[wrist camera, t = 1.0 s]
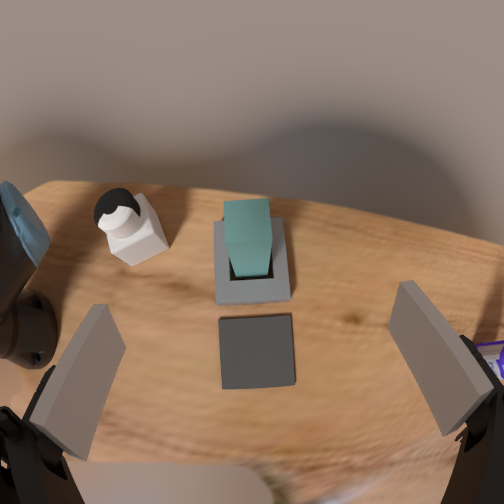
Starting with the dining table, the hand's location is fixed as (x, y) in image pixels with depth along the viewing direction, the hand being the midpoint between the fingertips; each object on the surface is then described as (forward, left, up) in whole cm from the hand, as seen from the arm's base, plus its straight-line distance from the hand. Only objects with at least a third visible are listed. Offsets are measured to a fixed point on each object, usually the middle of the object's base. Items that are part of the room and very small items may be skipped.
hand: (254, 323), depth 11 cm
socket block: (0, +10, -27) cm, 29 cm away
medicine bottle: (-17, +15, -27) cm, 36 cm away
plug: (0, +10, -27) cm, 29 cm away
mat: (0, -3, -27) cm, 27 cm away
